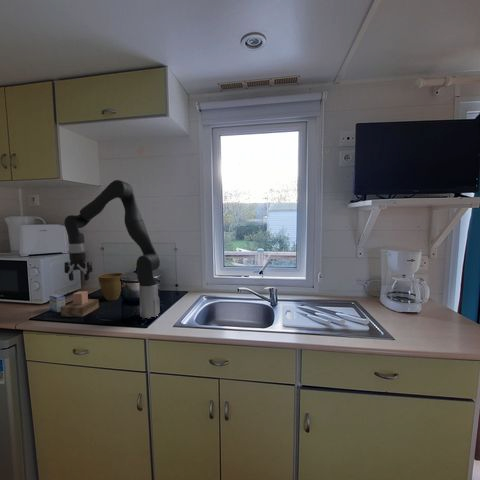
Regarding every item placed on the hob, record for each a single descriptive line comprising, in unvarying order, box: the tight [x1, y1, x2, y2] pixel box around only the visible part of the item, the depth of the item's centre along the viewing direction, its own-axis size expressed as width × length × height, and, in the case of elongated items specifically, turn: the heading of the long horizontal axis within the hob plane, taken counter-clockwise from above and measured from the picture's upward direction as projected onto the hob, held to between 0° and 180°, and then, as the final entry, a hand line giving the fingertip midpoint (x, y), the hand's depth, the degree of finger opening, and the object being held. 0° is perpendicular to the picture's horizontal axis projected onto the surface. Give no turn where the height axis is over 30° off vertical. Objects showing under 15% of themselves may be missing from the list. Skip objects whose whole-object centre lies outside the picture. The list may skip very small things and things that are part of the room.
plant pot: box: [97, 272, 125, 301], centre depth 160 cm, size 15×15×16 cm
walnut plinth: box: [60, 298, 100, 318], centre depth 138 cm, size 12×14×5 cm
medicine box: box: [49, 293, 66, 313], centre depth 140 cm, size 8×4×9 cm, turn 62°
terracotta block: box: [72, 290, 89, 305], centre depth 137 cm, size 5×5×6 cm
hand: (79, 280), depth 136 cm, fingers open, 8 cm apart
